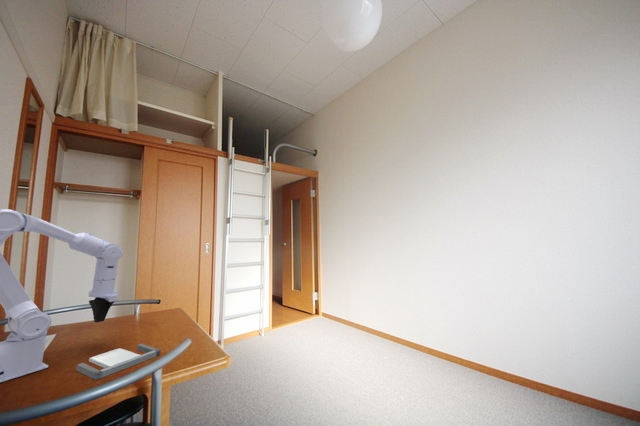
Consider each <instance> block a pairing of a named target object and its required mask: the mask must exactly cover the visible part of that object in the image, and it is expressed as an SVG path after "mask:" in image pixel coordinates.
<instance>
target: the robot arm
mask: <svg viewBox="0 0 640 426" xmlns="http://www.w3.org/2000/svg"><path fill="white" fill-rule="evenodd" d="M17 232H22V233H23V232H24V233H25V232H26V233H27V232H29V233H31V232H33V233H37V234H40V235H43V236H46V237H49V238H52V239H55V240H58V241H62V242H64V243H67V244H68V247H69V248H70V250H73V251H76V252H79V253H83V254H84V255H88V256H91V257H95V258H96V262H95V270H94V276H93V281H92V282H93V283H92V288H91V289H92V290H89V291H88V298H94V299H89V301H88V303H89V305H90V307H91V310H92V314H93V322H94V323H101V322H104V321H105V320H106V317H107V315H108V312H109V311H110V309H111V307H112V305H113V304H114V303H115V302H117V301H118V299H119V291H118V290H116V282H117V274H118V267H119V260H120V259H121V258H122V257H123V256H124V251H123V248H122V247H121V246H120V245H118V244H116V243H109V240H108V239H102V238H99V237H96V236H94V233H92V232H83V231H82V232H79V233H74V232H72V231H69V230H67V229H65V228H63V227H60V226H58V225H56V224H53V223H52V222H49V221H46V220H44V219H41V218H38V217H36V216H33V215H30V214H26V213H20V212H19V211H16V210H13V209H10V208H8V209H7V208H2V209H0V247H1V246H2V245H3V244H4V243H5V242H6V241H7V239H8V238H9V237H10V236H12V235H13V234H16V233H17ZM0 305H1V307H2V308H3V310H4V313H5V314H6V316H7V319H8V321H7V328H8V330H10V331H11V332H10V333H9V334H8V336H7V337H6V339H5V340H3V341H0V383H2V382H3V383H4V382H7V381H9V380H13V379H16V378H19V377H23V376H25V375H28V374H32V373H34V372H38V371H41V370H45V369H47V368H49V364H46V362H43V360H44V359H43V358H44V354H45V347H46V342H47V337H48V335H47V334H48V330H49V328H51V325H52V317H51V316H50V315H48V314H47V313H44V312H43V311H41V310H40V309H39V307H38V305H36V304H35V302H33V300H32V299H31V298H30V295H29V294H28V293H27V291H26V289H25V288H24V287H23V285H22V283H21V282H20V280H19V279H18V277H17V275H16V274H15V273H14V271H13V269H12V268H11V266H10V265H9V263H8V262H7V260H6V258H5V257H4V255H3V253H2V252H1V251H0Z"/></svg>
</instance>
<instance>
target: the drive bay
mask: <svg viewBox="0 0 640 426" xmlns="http://www.w3.org/2000/svg"><path fill="white" fill-rule="evenodd" d="M136 350H137V351H140V352H143V354H139V355H140V356H137V357H134V358H132V359H129V360H126V361H123V362H121V363H118V364H115V365H113V366H110V367H107V368H102V369H97V368H95V367H93V366H91V365H89V364H87V363H84V362H81V363H78V364H76V371H77V372H78V373H80V374H83V375H84V376H86V377H89V378H91V379H93V380H95V381H96V380H99V379H102V378H104V377H108V376H111V375H113V374H116V373H118V372H120V371H123V370H125V369H128V368H130V367H133V366H136V365H138V364H141V363H144V362H146V361H148V360H150V359H154V358H156V357H158V356H160V355H161V349H159V348H156V347H153V346H149V345H147V344H144V343H139V344H137V345H136Z"/></svg>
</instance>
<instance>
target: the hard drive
mask: <svg viewBox="0 0 640 426" xmlns="http://www.w3.org/2000/svg"><path fill="white" fill-rule="evenodd" d="M140 355H141V354H138V353H135V352H133V351H130V350H127V349H124V348H120V347H119V348H116V349H113V350H109V351H107V352H104V353H100V354H97V355H95V356H91V357H89V359H88V362H90V363H92V364H94V365H97V366H99V367H101V368H102V369H104V368H107V367H110V366H113V365H115V364H118V363H121V362H123V361H126V360H129V359H132V358H134V357H137V356H140Z"/></svg>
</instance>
